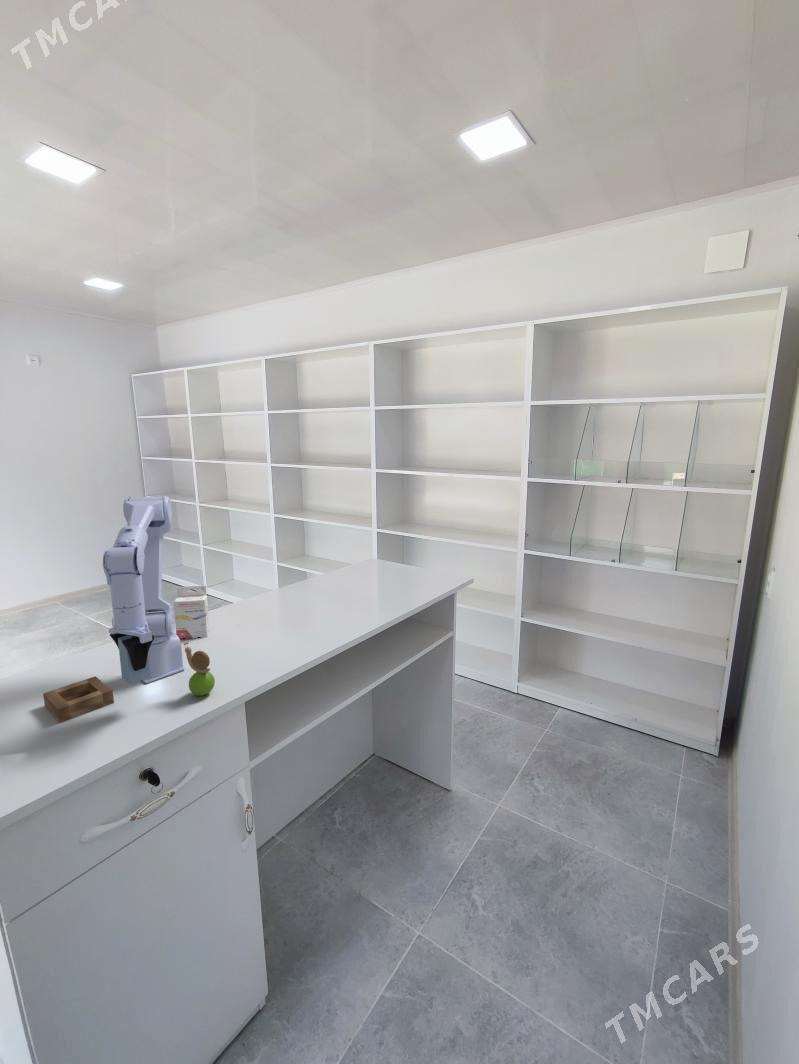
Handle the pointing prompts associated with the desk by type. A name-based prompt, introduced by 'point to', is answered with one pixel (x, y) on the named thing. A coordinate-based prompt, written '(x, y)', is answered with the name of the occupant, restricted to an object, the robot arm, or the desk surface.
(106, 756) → the desk surface
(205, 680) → the snail figurine
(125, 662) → the slate-blue peg
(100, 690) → the walnut collar
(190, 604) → the ink cartridge box
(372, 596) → the desk surface
